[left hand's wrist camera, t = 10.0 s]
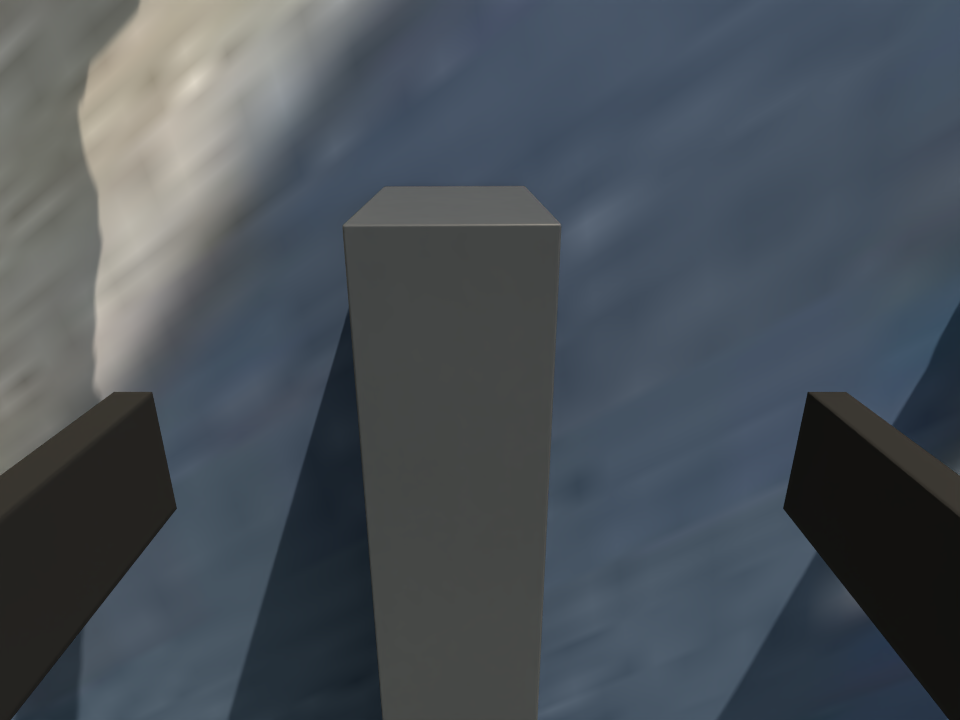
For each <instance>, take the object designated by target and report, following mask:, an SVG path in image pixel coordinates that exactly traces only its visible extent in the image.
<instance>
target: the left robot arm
mask: <svg viewBox="0 0 960 720" xmlns="http://www.w3.org/2000/svg"><path fill="white" fill-rule="evenodd" d="M176 509H177V507H176V503H175V498H174V493H173V489H172V484H171V479H170V474H169V470H168V465H167V460H166V455H165V451H164V446H163V441H162V436H161V432H160V427H159V422H158V417H157V413H156V408H155V403H154V398H153V394H152V392H113V393H112V394H111V395H109V396H108V397H107V398H105V399H104V400H103V401H101V402H100V403H98V404H97V405H96V406H94V407H93V408H92V409H90V410H89V411H88V412H86V413H85V414H84V415H82V416H81V417H79V418H78V419H77V420H75V421H74V422H73V423H71V424H70V425H69V426H67V427H66V428H65V429H63V430H62V431H60V432H59V433H58V434H56V435H55V436H54V437H52V438H51V439H50V440H48V441H47V442H46V443H44V444H43V445H41V446H40V447H39V448H37V449H36V450H35V451H33V452H32V453H31V454H29V455H28V456H27V457H25V458H24V459H22V460H21V461H20V462H18V463H17V464H16V465H14V466H13V467H12V468H10V469H9V470H7V471H6V472H5V473H3V474H2V475H1V476H0V720H11V719H12V718H13V716H14V715H15V714H16V713H17V711H18V710H19V709H20V707H21V706H22V705H23V704H24V702H25V701H26V700H27V699H28V697H29V696H30V695H31V693H32V692H33V691H34V690H35V688H36V687H37V686H38V685H39V683H40V682H41V681H42V679H43V678H44V677H45V676H46V674H47V673H48V672H49V671H50V669H51V668H52V667H53V665H54V664H55V663H56V662H57V660H58V659H59V658H60V657H61V655H62V654H63V653H64V651H65V650H66V649H67V648H68V646H69V645H70V644H71V642H72V641H73V640H74V639H75V637H76V636H77V635H78V634H79V632H80V631H81V630H82V628H83V627H84V626H85V625H86V623H87V622H88V621H89V620H90V618H91V617H92V616H93V614H94V613H95V612H96V611H97V609H98V608H99V607H100V606H101V604H102V603H103V602H104V600H105V599H106V598H107V597H108V595H109V594H110V593H111V592H112V590H113V589H114V588H115V586H116V585H117V584H118V583H119V581H120V580H121V579H122V578H123V576H124V575H125V574H126V572H127V571H128V570H129V569H130V567H131V566H132V565H133V564H134V562H135V561H136V560H137V558H138V557H139V556H140V555H141V553H142V552H143V551H144V550H145V548H146V547H147V546H148V544H149V543H150V542H151V541H152V539H153V538H154V537H155V536H156V534H157V533H158V532H159V530H160V529H161V528H162V527H163V525H164V524H165V523H166V522H167V520H168V519H169V518H170V516H171V515H172V514H173V513H174V511H175V510H176ZM783 509H784V510H785V511H786V513H787V514H788V515H789V516H790V518H791V519H792V520H793V522H794V523H795V524H796V525H797V527H798V528H799V529H800V530H801V532H802V533H803V534H804V536H805V537H806V538H807V539H808V541H809V542H810V543H811V544H812V546H813V547H814V548H815V550H816V551H817V552H818V553H819V555H820V556H821V557H822V558H823V560H824V561H825V562H826V564H827V565H828V566H829V567H830V569H831V570H832V571H833V572H834V574H835V575H836V576H837V578H838V579H839V580H840V581H841V583H842V584H843V585H844V586H845V588H846V589H847V590H848V592H849V593H850V594H851V595H852V597H853V598H854V599H855V600H856V602H857V603H858V604H859V606H860V607H861V608H862V609H863V611H864V612H865V613H866V614H867V616H868V617H869V618H870V620H871V621H872V622H873V623H874V625H875V626H876V627H877V628H878V630H879V631H880V632H881V634H882V635H883V636H884V637H885V639H886V640H887V641H888V642H889V644H890V645H891V646H892V648H893V649H894V650H895V651H896V653H897V654H898V655H899V657H900V658H901V659H902V660H903V662H904V663H905V664H906V665H907V667H908V668H909V669H910V671H911V672H912V673H913V674H914V676H915V677H916V678H917V679H918V681H919V682H920V683H921V685H922V686H923V687H924V688H925V690H926V691H927V692H928V693H929V695H930V696H931V697H932V699H933V700H934V701H935V702H936V704H937V705H938V706H939V707H940V709H941V710H942V711H943V713H944V714H945V715H946V716H947V718H948V719H949V720H960V476H959V475H958V474H957V473H955V472H954V471H953V470H951V469H950V468H948V467H947V466H946V465H944V464H943V463H942V462H940V461H939V460H938V459H936V458H935V457H934V456H932V455H931V454H929V453H928V452H927V451H925V450H924V449H923V448H921V447H920V446H919V445H917V444H916V443H914V442H913V441H912V440H910V439H909V438H908V437H906V436H905V435H904V434H902V433H901V432H900V431H898V430H897V429H895V428H894V427H893V426H891V425H890V424H889V423H887V422H886V421H885V420H883V419H882V418H881V417H879V416H878V415H876V414H875V413H874V412H872V411H871V410H870V409H868V408H867V407H866V406H864V405H863V404H862V403H860V402H859V401H857V400H856V399H855V398H853V397H852V396H851V395H849V394H848V393H847V392H808V394H807V398H806V403H805V408H804V413H803V417H802V422H801V427H800V432H799V436H798V441H797V446H796V451H795V455H794V460H793V465H792V470H791V474H790V479H789V484H788V489H787V493H786V498H785V503H784V507H783Z"/></svg>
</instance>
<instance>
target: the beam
mask: <svg viewBox="0 0 960 720" xmlns="http://www.w3.org/2000/svg"><path fill="white" fill-rule="evenodd" d="M343 239H344V251H345V264H346V276H347V288H348V301H349V313H350V325H351V338H352V350H353V362H354V375H355V387H356V399H357V412H358V424H359V436H360V449H361V461H362V473H363V486H364V498H365V510H366V523H367V535H368V547H369V560H370V572H371V584H372V597H373V609H374V622H375V634H376V646H377V659H378V671H379V683H380V696H381V708H382V720H537V716H538V695H539V675H540V654H541V633H542V613H543V592H544V572H545V551H546V531H547V510H548V489H549V469H550V448H551V428H552V407H553V387H554V366H555V345H556V325H557V304H558V284H559V263H560V243H561V224H560V223H559V222H558V221H557V220H556V219H555V218H554V217H553V216H552V214H551V213H550V212H549V211H548V210H547V209H546V208H545V207H544V206H543V205H542V204H541V203H540V202H539V201H538V200H537V199H536V198H535V197H534V196H533V195H532V194H531V192H530V191H529V190H528V189H527V188H526V187H525V186H399V187H384V188H383V189H381V190H380V191H379V192H378V193H377V194H376V195H375V196H374V197H373V198H372V199H371V200H370V201H369V202H367V203H366V204H365V205H364V206H363V207H362V208H361V209H360V210H359V211H358V212H357V213H356V214H355V215H353V216H352V217H351V218H350V219H349V220H348V221H347V222H346V223H345V224H344V225H343Z"/></svg>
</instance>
